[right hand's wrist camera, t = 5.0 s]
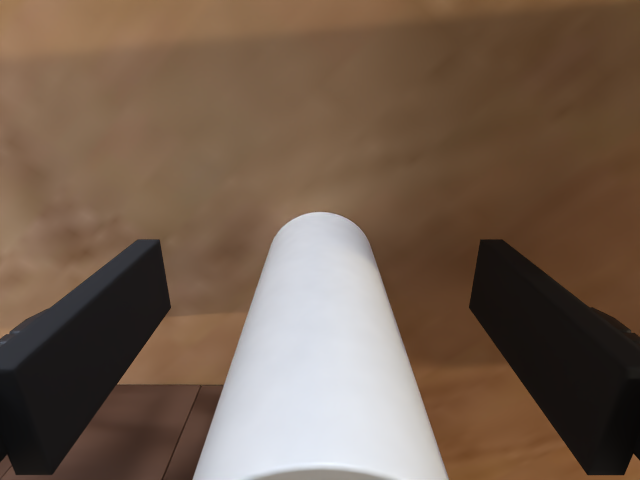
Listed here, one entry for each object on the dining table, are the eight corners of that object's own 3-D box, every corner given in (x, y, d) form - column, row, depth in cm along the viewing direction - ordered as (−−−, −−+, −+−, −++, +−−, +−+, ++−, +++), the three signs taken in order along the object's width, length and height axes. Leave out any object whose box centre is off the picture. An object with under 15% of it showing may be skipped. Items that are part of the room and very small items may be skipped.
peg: (265, 211, 14) (144, 466, 4) (375, 211, 14) (497, 466, 4) (271, 306, 15) (189, 653, 6) (370, 306, 15) (451, 653, 6)
